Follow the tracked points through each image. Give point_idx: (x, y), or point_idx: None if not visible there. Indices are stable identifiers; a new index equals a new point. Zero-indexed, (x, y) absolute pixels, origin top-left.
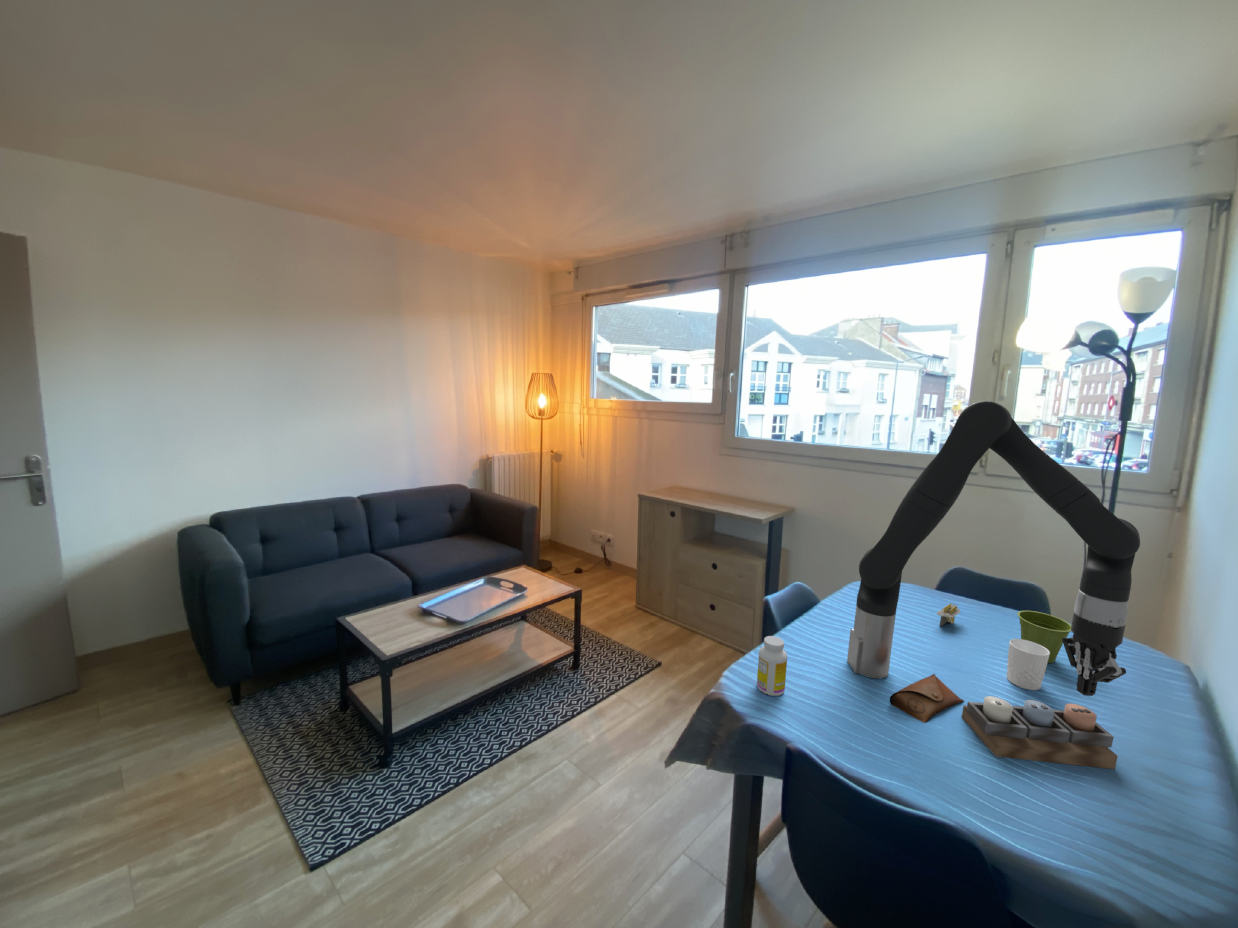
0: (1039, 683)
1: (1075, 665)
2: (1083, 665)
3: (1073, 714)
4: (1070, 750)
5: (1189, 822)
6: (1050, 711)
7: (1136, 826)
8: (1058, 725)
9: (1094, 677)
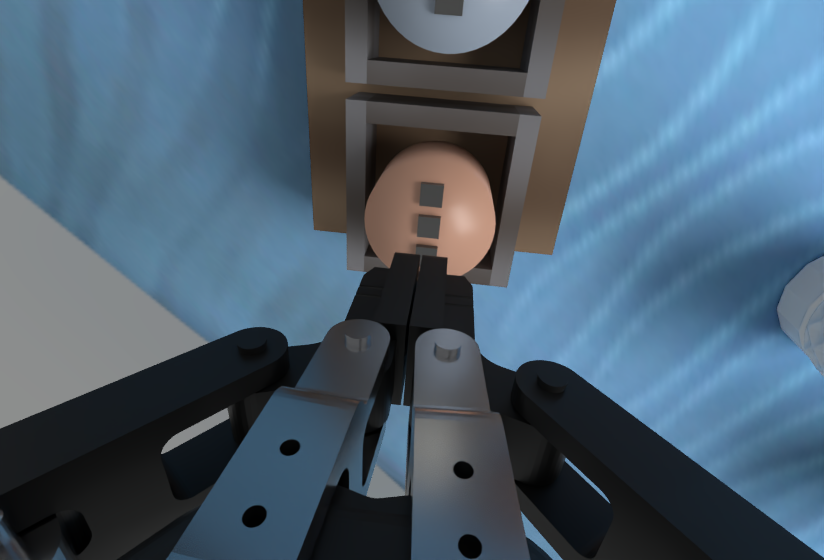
0: (795, 331)
1: (515, 385)
2: (350, 403)
3: (403, 161)
4: (308, 42)
5: (144, 227)
6: (408, 10)
7: (52, 33)
8: (398, 62)
9: (235, 357)
